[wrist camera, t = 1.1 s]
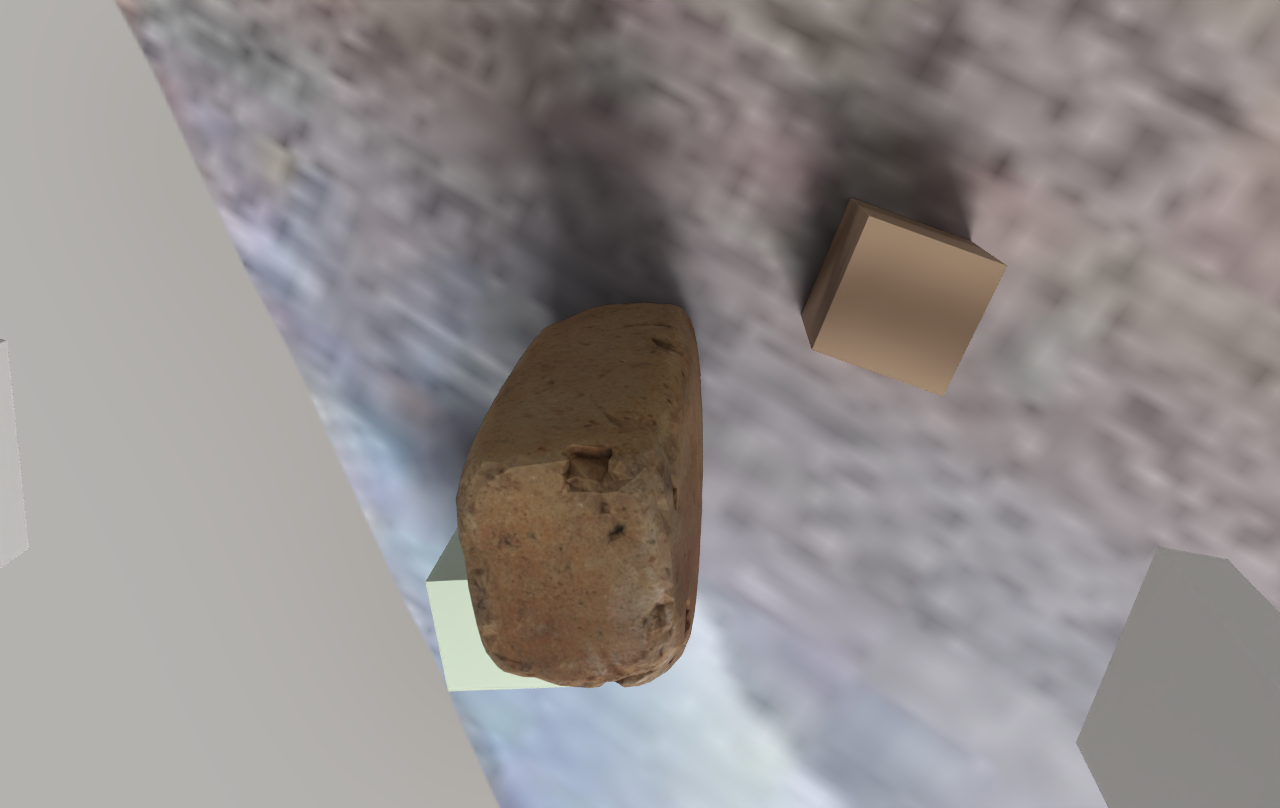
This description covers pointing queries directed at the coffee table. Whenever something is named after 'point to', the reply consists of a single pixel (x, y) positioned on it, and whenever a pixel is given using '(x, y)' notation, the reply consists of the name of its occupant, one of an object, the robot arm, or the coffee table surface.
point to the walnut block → (899, 297)
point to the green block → (464, 630)
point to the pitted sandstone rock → (589, 500)
